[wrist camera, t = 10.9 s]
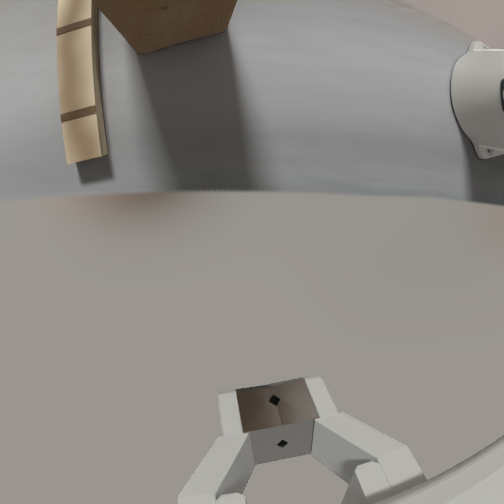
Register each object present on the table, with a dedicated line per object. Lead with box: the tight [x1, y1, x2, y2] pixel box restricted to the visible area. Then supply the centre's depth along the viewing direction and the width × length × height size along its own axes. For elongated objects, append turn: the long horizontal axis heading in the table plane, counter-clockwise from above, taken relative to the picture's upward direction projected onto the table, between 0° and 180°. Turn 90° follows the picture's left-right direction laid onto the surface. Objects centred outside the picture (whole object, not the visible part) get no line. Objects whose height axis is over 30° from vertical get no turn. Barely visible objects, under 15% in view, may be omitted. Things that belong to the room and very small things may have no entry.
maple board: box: [57, 0, 108, 164], centre depth 26 cm, size 4×21×3 cm, turn 5°
